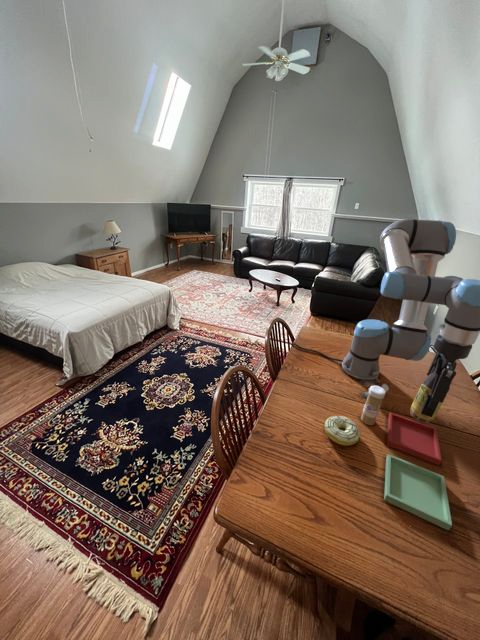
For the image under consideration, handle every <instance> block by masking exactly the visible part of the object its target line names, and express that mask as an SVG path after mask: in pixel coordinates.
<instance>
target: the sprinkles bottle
mask: <svg viewBox="0 0 480 640" xmlns="http://www.w3.org/2000/svg"><path fill="white" fill-rule="evenodd" d="M369 388H370V389H369ZM369 388H368V389H369V390H368V391H369V395H368V397H367V399H365V400H366V401H365V403H364V406H363V409H362V413H361V415H360V421H362V423H364V424H365V425H368V426H373V425H375V423H376V419H377V417H378V414H379V411H380V409H381V406H382V403H383V400H384V399H385V396H386V393H385V390H384V389H383V388H381V387H379V386H375V385H374V386H371V387H369Z"/></svg>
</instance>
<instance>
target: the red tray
mask: <svg viewBox="0 0 480 640" xmlns="http://www.w3.org/2000/svg"><path fill="white" fill-rule="evenodd" d="M386 434H387V435H386V436H387V437H386V446H389V447H391V448H393V449H396V450H399V451H401V452H403V453H406V454H409V455H411V456H414V457H416V458H419V459H421V460H424V461H426V462H428V463H432V464H433V465H436V466H440V464H441V462H442V454H441V449H440V448H441V447H440V443H439V442H440V441H439V436H438V430H437V427H434V426H431V425H428V424H427V423H422V422H420V421H418V420H415V419H410V418H408V417H405V416H402V415H399V414H396V413H393V412H389V414H388V417H387V433H386Z"/></svg>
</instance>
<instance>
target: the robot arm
mask: <svg viewBox="0 0 480 640" xmlns="http://www.w3.org/2000/svg"><path fill="white" fill-rule="evenodd" d="M456 239H457V229H456V226H455V225H454V224H453V223H452V222H451V221H446V220H445V221H444V220H433V219H415V218H403V219H399V220H396V221H394V222H392V223H390V224H389V225H387V227H386V228H384V229H383V231H382V232H381V234H380V237H379V247H380V249H381V251H383V253H384V259H385V265H386V272H385V273H384V275H383V277H382V280H381V284H380V294H381V296H383V297H385V298H391V299H394V300H402V302H401V307H400V312H399V316H398V320H396V321H394V322H393V324H392V327H390V326H389V324H388V323H387V322H386V321H381V319H380V320H379V319H369V318H368V319H363V320H361V321H358V322H357V324H356V325H355V329H354V331H353V336H352V341H351V345H350V349H349V352H348V353H347V354H346V356H345V357H344V358H343V359H339V358H334V357H331V356H328V355H326V354H325V353H322V352H320V351H318V350H315V349H310V348H305V347H301V346H300V345H298V344H297V343H295V342H292V343H290V345H291V346H293V345H294V346H296V348H298V349H300V350H303V351H308V352H312V353H316V354H319V355H321V356H323V357H325V358H326V359H329V360H331V361H336V362H340V363H341V369H342V371H343V372H344V373H345V374H346V375H347V376H349V377H350V378H353V379H356V380H359V381H362V380H364V379H371V380H373V381H375V380H376V381H377V378H378V379H379V376H380V361H379V359H380V356H387V357H391V358H396V359H402V360H405V361H412V362H413V361H414V362H419V361H421V360H423V359H424V358H425V357H426V356H427V355H428V353H429V350H430V348H431V345H432V336H431V334H429V333H428V328H427V326H426V325H425V321H426V316H427V312H428V308H429V304H434V305H441V306H445V307H446V308H447V309H448V310H447V312H446V315H445V317H444V320H443V323H440V324H439V326H438V327H439V328H440V330H439V332H438V335H437V337H436V339H435V342H434V344H433V349H434V350H435V351H436V353H435V355H434V357H433V359H432V362H431V363H430V366H429V368H428V370H427V372H426V377H427V376H428V375H430V374H432V373H433V372H434V371H435V373H436V378H435V381H434V384H433V387H432V390H431V393H430V395H429V394H427V395H426V396H427V399H426V401H425V404H424V406H423V408H422V410H421V414H423V415H426V416H429V417H432V416H433V414H434V412H435V410H436V408H437V406H438V403H439V402H441V403H442V404H443V403H444V401H445V399H446V398H445V396H446V397H447V395H448V393H447V391H448V389H449V387H450V388H451V384H452V382H453V380H454V378H455V377H456V376H457V371H456V368H457V362H456V361H458V360H464V359H466V358H468V357H469V356H470V353H471V351H472V349H473V345H475V344H476V341H477V339H478V337H479V335H480V279H475V278H465V279H464V278H463V277H460V276H456V275H446V276H436V273H437V269H438V264H439V262H441V261H442V260H444V259H445V256H446V255H449V254H450V253H451V252H452V251H453V249H454V246H455V244H456V241H457V240H456ZM436 366H437V367H436ZM435 368H436V370H435ZM454 369H455V370H454ZM453 370H454V371H453ZM439 371H442V372H439ZM449 390H450V389H449ZM448 392H449V391H448ZM446 394H447V395H446ZM444 398H445V399H444Z"/></svg>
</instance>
